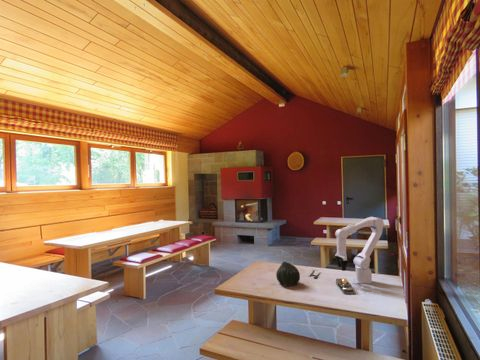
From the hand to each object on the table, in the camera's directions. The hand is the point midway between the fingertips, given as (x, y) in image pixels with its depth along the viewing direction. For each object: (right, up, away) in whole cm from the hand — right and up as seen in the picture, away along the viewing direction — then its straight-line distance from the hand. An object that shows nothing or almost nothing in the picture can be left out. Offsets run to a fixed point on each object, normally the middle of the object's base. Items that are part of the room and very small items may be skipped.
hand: (341, 268), depth 195 cm
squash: (-35, -10, -1) cm, 37 cm away
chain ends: (-2, -9, -11) cm, 14 cm away
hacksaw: (-14, -10, +21) cm, 27 cm away
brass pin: (-2, -9, -11) cm, 14 cm away
